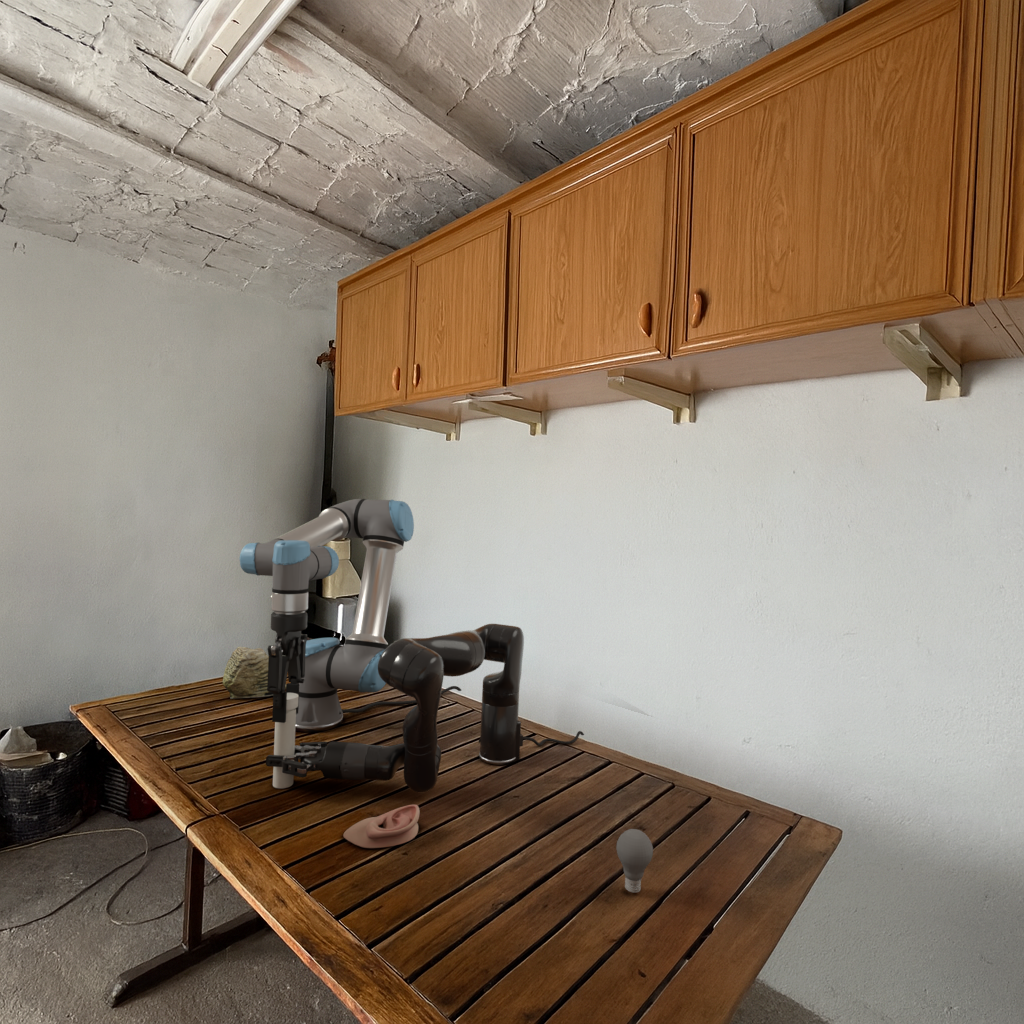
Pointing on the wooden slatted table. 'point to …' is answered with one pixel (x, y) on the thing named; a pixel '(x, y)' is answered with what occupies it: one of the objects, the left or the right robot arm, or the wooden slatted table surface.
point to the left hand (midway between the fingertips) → (285, 717)
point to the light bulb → (634, 857)
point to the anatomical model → (385, 828)
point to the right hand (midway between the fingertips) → (271, 755)
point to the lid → (292, 701)
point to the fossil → (247, 673)
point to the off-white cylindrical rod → (284, 748)
